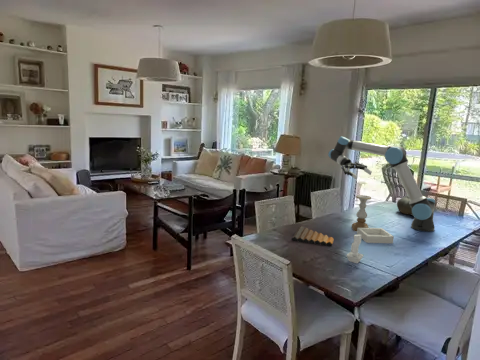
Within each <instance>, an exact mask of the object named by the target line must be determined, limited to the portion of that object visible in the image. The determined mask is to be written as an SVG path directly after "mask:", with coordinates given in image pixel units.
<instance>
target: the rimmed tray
mask: <svg viewBox="0 0 480 360" xmlns="http://www.w3.org/2000/svg"><path fill="white" fill-rule="evenodd" d="M358 234H360V235H362V237H361V240H363V241H364V242H365V243H367V244H368V243H369V244H394V237H395V236H394V235H392V234H391V233H390V232H388V231H387V230H385V229H384V228H382V227H369V228H357V231H356V235H358Z"/></svg>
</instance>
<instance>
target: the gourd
mask: <svg viewBox="0 0 480 360" xmlns="http://www.w3.org/2000/svg"><path fill="white" fill-rule="evenodd" d="M409 202H410V199H409V197H408V195H406V196H405V195H404V196H403V197H401V198H399V199H398V200H397V203H396V207H397V210H398V211H399V212H400V213H402V214H403V215H411V216H413V214H412V209H411V206H410V204H409Z"/></svg>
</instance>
